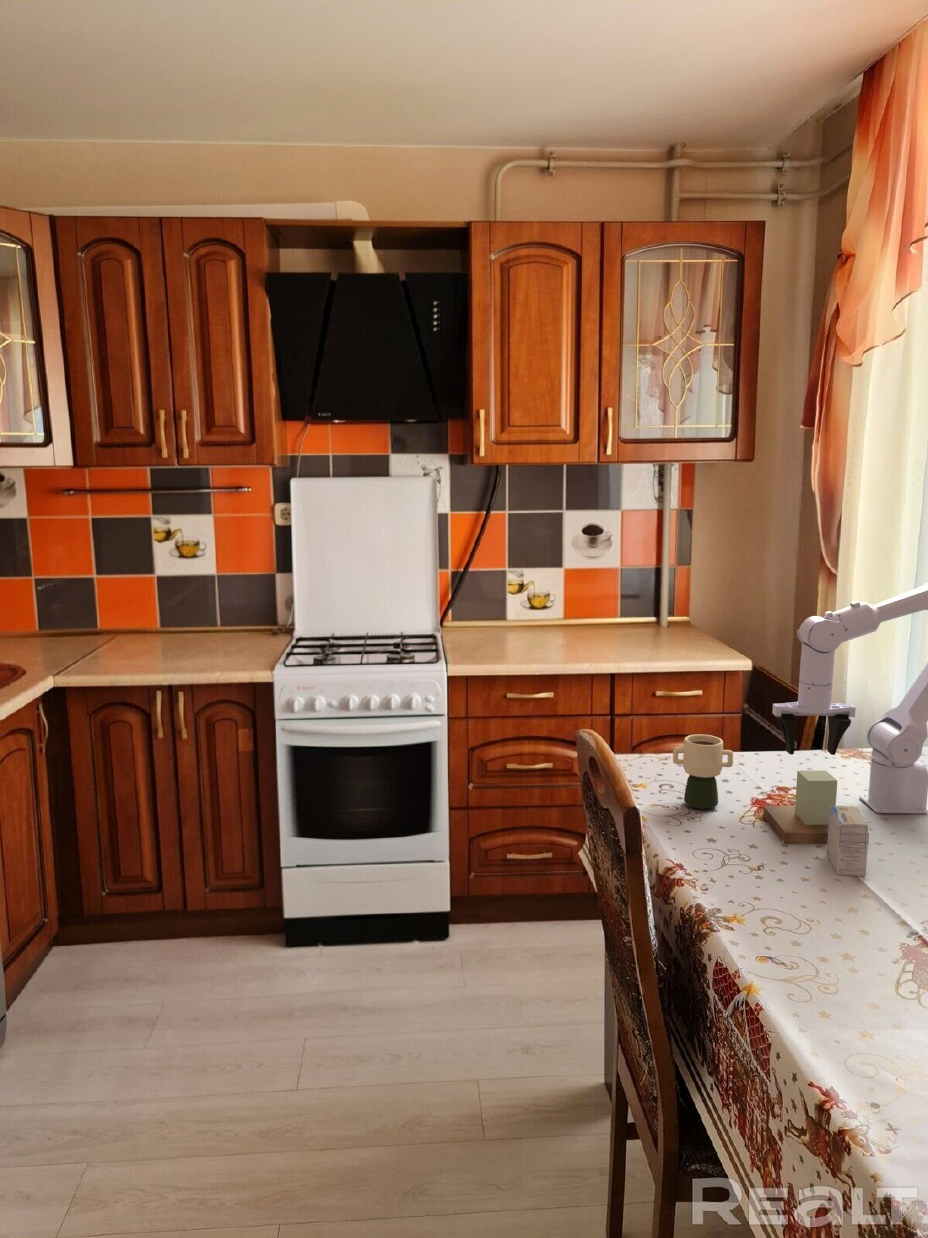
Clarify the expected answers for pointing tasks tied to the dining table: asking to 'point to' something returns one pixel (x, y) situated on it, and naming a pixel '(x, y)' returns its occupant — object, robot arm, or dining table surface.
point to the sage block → (815, 796)
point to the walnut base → (794, 826)
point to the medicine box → (847, 840)
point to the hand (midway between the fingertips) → (810, 753)
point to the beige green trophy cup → (702, 768)
